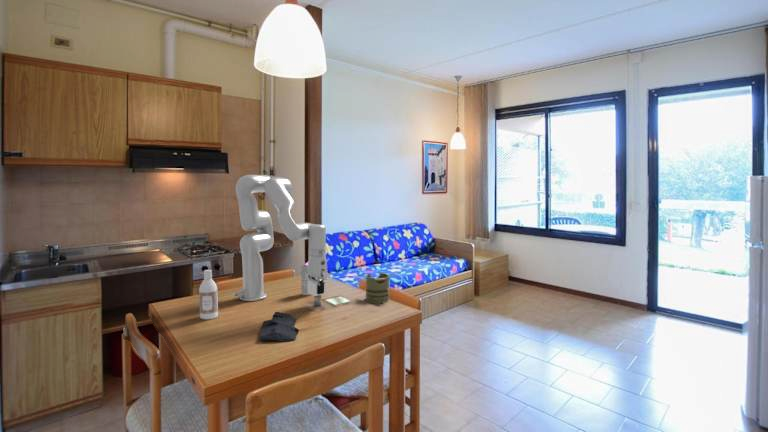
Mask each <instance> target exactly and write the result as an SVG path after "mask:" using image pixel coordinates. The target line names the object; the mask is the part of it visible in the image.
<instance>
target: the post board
mask: <svg viewBox="0 0 768 432" xmlns="http://www.w3.org/2000/svg"><path fill="white" fill-rule="evenodd" d="M356 303H357V301H355V300H354V299H350V298H348V297H345V296H344V295H341V294H339V295H335V296H331V297H326V298H322V295H318V296H313V300H312V301H308V302H307V301H306V302H303V303H300V305H301V306H303V307H305V308H306V309H309V310H310V311H312V312H314V313H318V312H322V311H327V310H331V309H334V308H339V307H344V306H346V305H347V306H348V305H351V304H356Z"/></svg>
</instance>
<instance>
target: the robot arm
mask: <svg viewBox="0 0 768 432" xmlns="http://www.w3.org/2000/svg"><path fill="white" fill-rule="evenodd" d="M292 190H293V185H292V182H291V181H290V179H287V178H286V177H279V176H275V175H274V176H273V175H267V174H247V175H244V176H243V175H242V176H241V177H240V178H238V180H237V182H236V184H235V193H236V198H237V201H238V202H237V203H238V210H239V219H240V226H241V228H242V230H244V231H246V232H251V231H252V232H253V231H257V232H253V233H248V234H246V235H243V236H242V237H241V238H240V240H239V249H240V253H241V260H242V261H241V263H242V265H241V266H242V288H241V289H240V290H239V291H235V292H232V296H233V298H234V297H239V299H240V300H241V301H244V302H245V301H246V302H255V301H256V302H257V301H262V300H265V299H266V298H267V297H268V295H267V292H264V261H263V257H262V255H261V253H260V252H265V251H268V250H270V249H271V248H272V247H273V246H274V242H275V241H274V240H275V238H274V237H275V236H274V229H273V221H272V217H271V215H270V213H269V212H268V211H266V210H262V209H261V210H259V207H258V201H257V198H256V197H255V195H254V193H256V194H257V193H265V194H266V195H267V197H268V199H270V201H271V203H272V204H273V206H274V207H275V208H276V210H277V211H278V212H277V219H278V221H277V222H278V224H279V227H280V228H281V230H282V232H283V233H284V235H285V236H286V237H287V238H288V239H289V241H292V242H299V241H303V240H308V253H307V254H308V258H307V260H308V261H307V262H308V271H307V273H308V277H309V280H310V279H317V281H318V285H317V294H322V293H324V285H325V282H326V283H327V281H328V262H327V261H328V260H327V257H326V256H327V255H326V253H327V252H326V251H327V250H326V249H327V247H326V246H327V245H326V243H327V242H326V241H327V227H326V226H325V225H324V224H317V223H316V224H315V223H312V222H299V223H296V222H295V221H294V219H293V218H292V215H291V213H290V212H291V211H292V209H293V207H294V206H295V201H294V199H293V198H292V196H291V195H290V193H291V192H292ZM290 210H291V211H290ZM320 279H322V280H321V281H320Z"/></svg>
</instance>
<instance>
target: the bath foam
mask: <svg viewBox="0 0 768 432" xmlns="http://www.w3.org/2000/svg"><path fill="white" fill-rule="evenodd" d="M217 285H218V284H216V282H215V281H214V280H213V274H212V269H204V270H203V280H202V282H201V283H200V285H199V289H198V295H199V296H198V297H199V298H198V301H199V318H200V319H201V320H206V321H207V320H213V319H215V318H217V317H218V316H219V305H218V303H219V300H218V296H219V295H218V286H217Z"/></svg>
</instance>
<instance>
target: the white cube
mask: <svg viewBox="0 0 768 432" xmlns="http://www.w3.org/2000/svg"><path fill="white" fill-rule="evenodd" d="M321 280H322V279H320V281H321ZM317 285H318V281H317V279H310V280H308V289H307V293H309V294H311V295H310V296H313V297H314V296H318V295H321V296H323V295H326V294H327V281H326V282H325V285H324V293H322V294H317Z"/></svg>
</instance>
